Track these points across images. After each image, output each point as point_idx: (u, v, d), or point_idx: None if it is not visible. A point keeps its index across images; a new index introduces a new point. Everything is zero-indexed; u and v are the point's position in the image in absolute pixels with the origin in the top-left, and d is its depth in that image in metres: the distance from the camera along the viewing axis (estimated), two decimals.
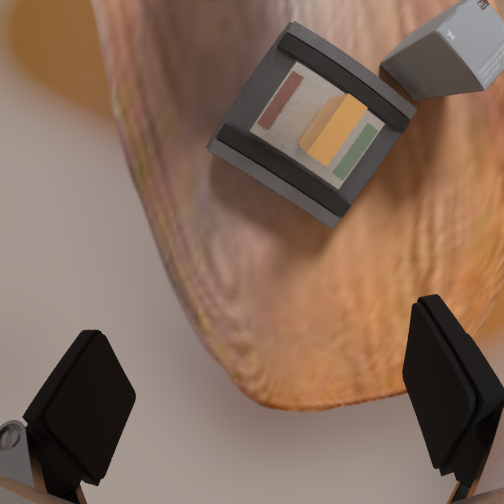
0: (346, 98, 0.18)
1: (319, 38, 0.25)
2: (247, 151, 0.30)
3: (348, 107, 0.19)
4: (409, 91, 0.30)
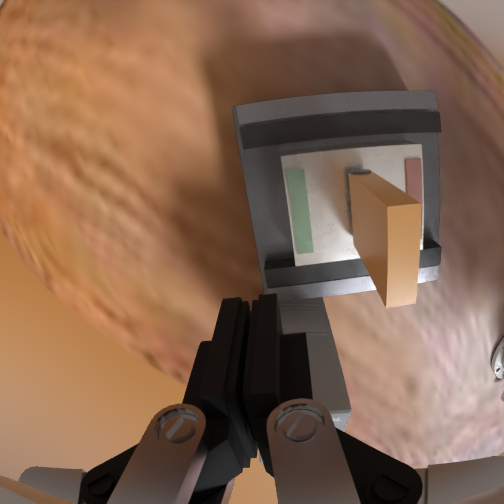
0: (415, 296, 0.14)
1: None
2: (400, 116, 0.20)
3: (407, 290, 0.14)
4: None
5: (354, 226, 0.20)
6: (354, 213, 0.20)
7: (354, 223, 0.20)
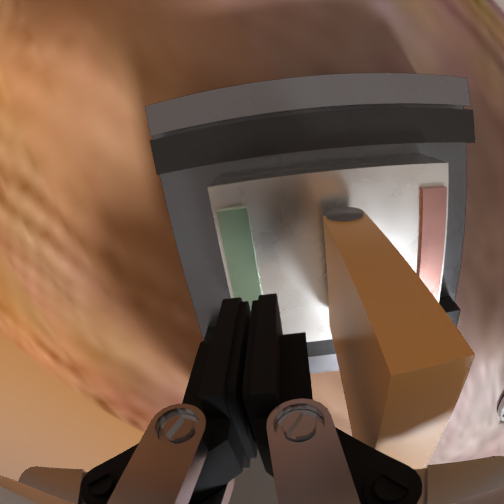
0: None
1: None
2: (414, 116, 0.12)
3: None
4: None
5: (330, 304, 0.12)
6: (330, 286, 0.12)
7: (330, 300, 0.12)
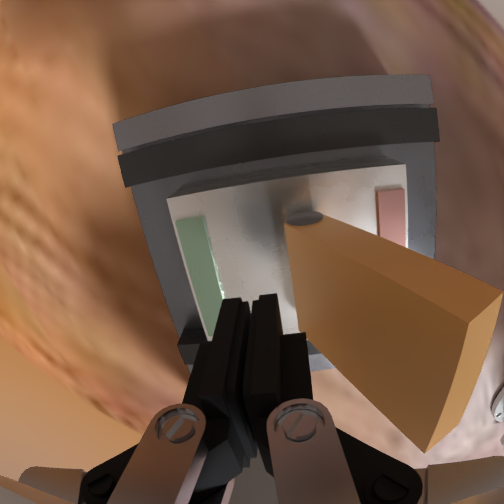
0: (460, 418, 0.07)
1: None
2: (371, 118, 0.12)
3: (454, 419, 0.07)
4: None
5: (303, 308, 0.13)
6: (303, 290, 0.12)
7: (303, 304, 0.13)
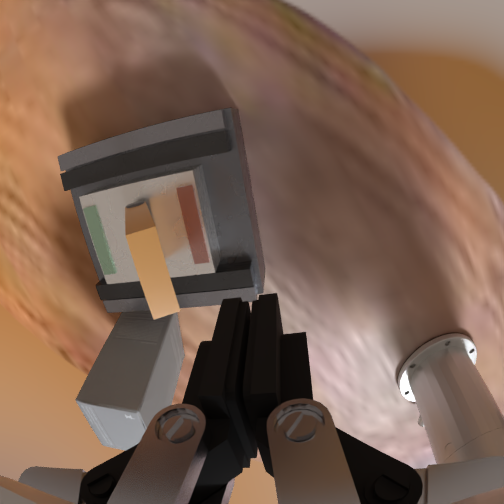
0: (177, 305, 0.17)
1: None
2: (181, 144, 0.22)
3: (167, 301, 0.17)
4: None
5: None
6: None
7: None
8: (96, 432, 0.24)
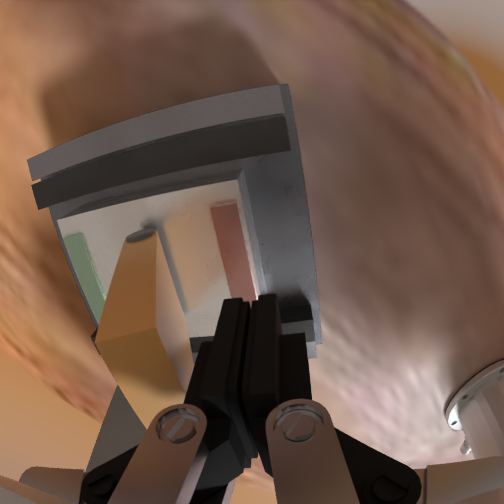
0: None
1: None
2: (214, 137, 0.14)
3: None
4: None
5: None
6: None
7: None
8: None
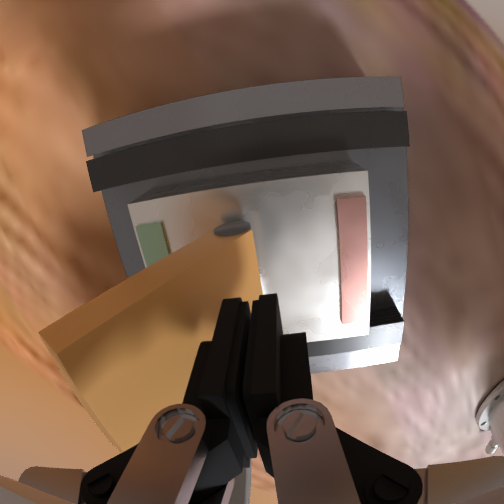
0: None
1: (352, 365, 0.18)
2: (335, 122, 0.12)
3: (114, 443, 0.08)
4: None
5: None
6: None
7: None
8: None
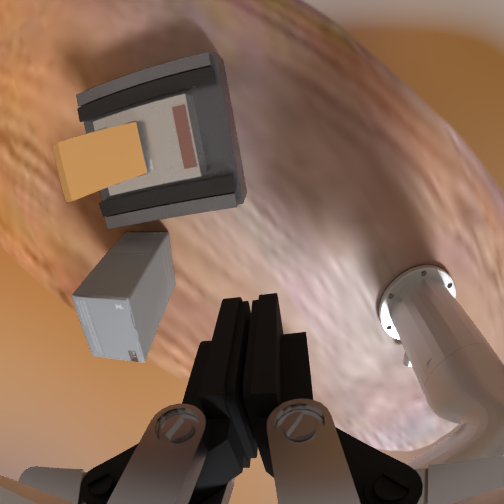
0: (70, 196, 0.22)
1: (208, 209, 0.32)
2: (177, 78, 0.27)
3: (67, 191, 0.23)
4: (132, 235, 0.39)
5: None
6: None
7: None
8: (87, 337, 0.29)
